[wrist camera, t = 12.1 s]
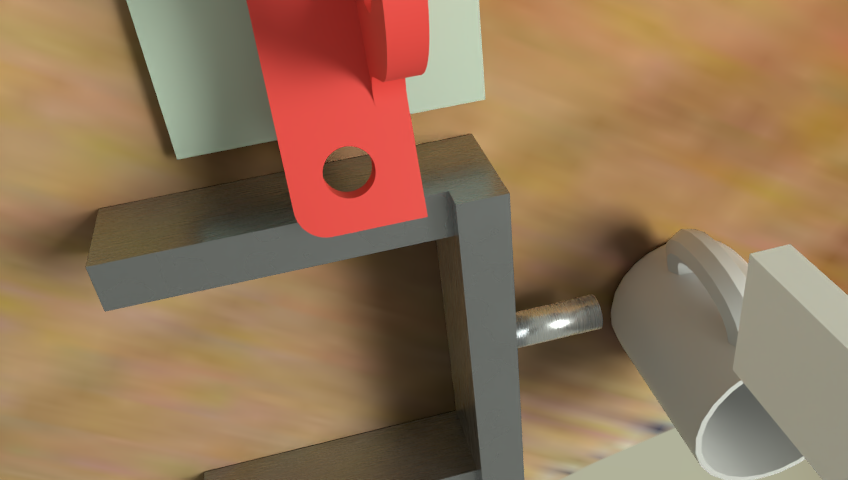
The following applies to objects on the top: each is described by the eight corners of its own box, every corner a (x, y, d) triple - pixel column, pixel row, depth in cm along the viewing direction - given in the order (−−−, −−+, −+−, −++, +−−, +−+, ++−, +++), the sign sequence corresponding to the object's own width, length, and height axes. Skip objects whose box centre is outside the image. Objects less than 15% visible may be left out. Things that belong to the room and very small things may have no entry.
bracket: (219, -125, 25) (195, -188, 17) (360, -146, 26) (395, -216, 18) (299, 234, 28) (308, 311, 21) (422, 209, 29) (473, 275, 21)
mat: (177, 152, 30) (177, 159, 30) (98, -99, 25) (95, -95, 25) (480, 93, 32) (485, 99, 31) (464, -155, 27) (468, -153, 26)
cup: (619, 368, 42) (704, 503, 35) (583, 223, 36) (677, 349, 29) (744, 316, 42) (856, 441, 35) (729, 164, 36) (859, 275, 29)
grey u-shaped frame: (214, 497, 41) (214, 584, 37) (98, 208, 31) (81, 283, 27) (574, 408, 43) (612, 479, 39) (575, 113, 33) (627, 168, 29)
